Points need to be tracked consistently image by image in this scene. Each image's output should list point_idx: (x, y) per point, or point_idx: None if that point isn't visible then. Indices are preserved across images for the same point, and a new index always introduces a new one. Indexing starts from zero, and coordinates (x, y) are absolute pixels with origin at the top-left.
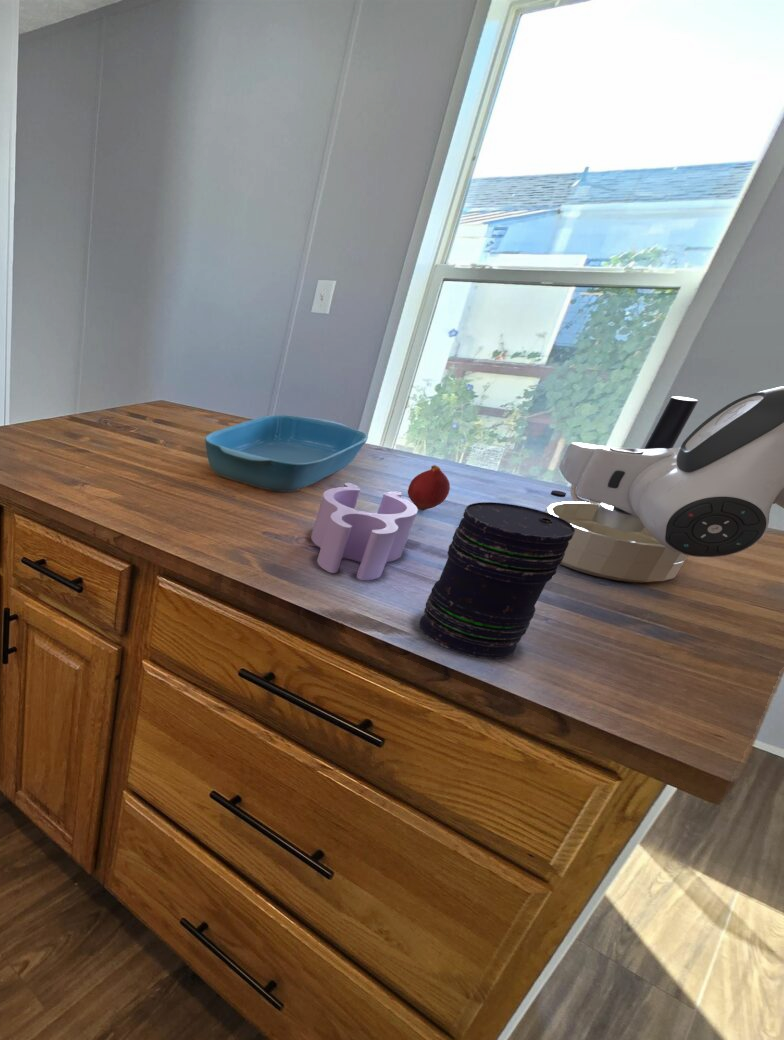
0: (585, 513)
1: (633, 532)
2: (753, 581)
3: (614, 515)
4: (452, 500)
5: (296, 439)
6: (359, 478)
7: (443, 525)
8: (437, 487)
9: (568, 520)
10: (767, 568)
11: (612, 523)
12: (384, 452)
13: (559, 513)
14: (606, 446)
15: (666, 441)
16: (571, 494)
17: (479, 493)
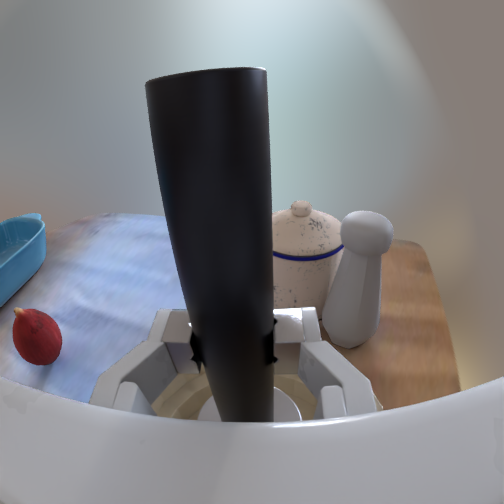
0: None
1: (302, 383)
2: (446, 395)
3: None
4: (110, 309)
5: (20, 240)
6: (41, 288)
7: None
8: (26, 347)
9: (201, 382)
10: (447, 337)
11: None
12: (108, 218)
13: (177, 381)
14: (5, 399)
15: (224, 308)
16: None
17: (155, 274)
